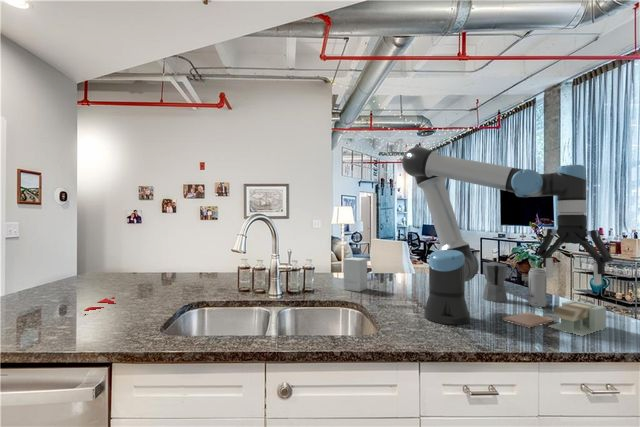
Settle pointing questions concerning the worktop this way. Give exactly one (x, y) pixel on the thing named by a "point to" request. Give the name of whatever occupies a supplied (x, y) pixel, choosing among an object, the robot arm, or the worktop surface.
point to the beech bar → (572, 311)
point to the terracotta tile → (528, 319)
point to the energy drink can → (537, 287)
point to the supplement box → (355, 274)
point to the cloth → (101, 302)
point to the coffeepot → (495, 281)
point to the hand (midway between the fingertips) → (572, 281)
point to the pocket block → (584, 321)
